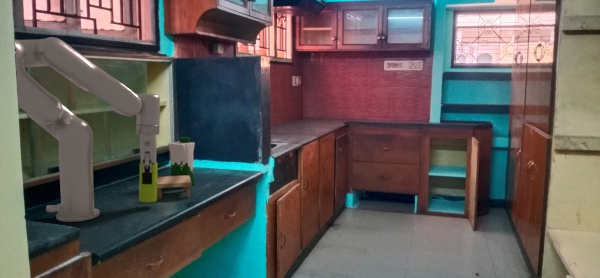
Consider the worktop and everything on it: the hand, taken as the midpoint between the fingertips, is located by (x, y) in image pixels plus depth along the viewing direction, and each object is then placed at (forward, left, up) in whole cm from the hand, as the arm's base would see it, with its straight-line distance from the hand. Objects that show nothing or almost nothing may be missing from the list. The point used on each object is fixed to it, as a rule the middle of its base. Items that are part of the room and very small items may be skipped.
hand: (147, 181), depth 164 cm
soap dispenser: (0, 0, -7) cm, 7 cm away
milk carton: (+13, +30, -9) cm, 34 cm away
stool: (+9, +15, -9) cm, 20 cm away
